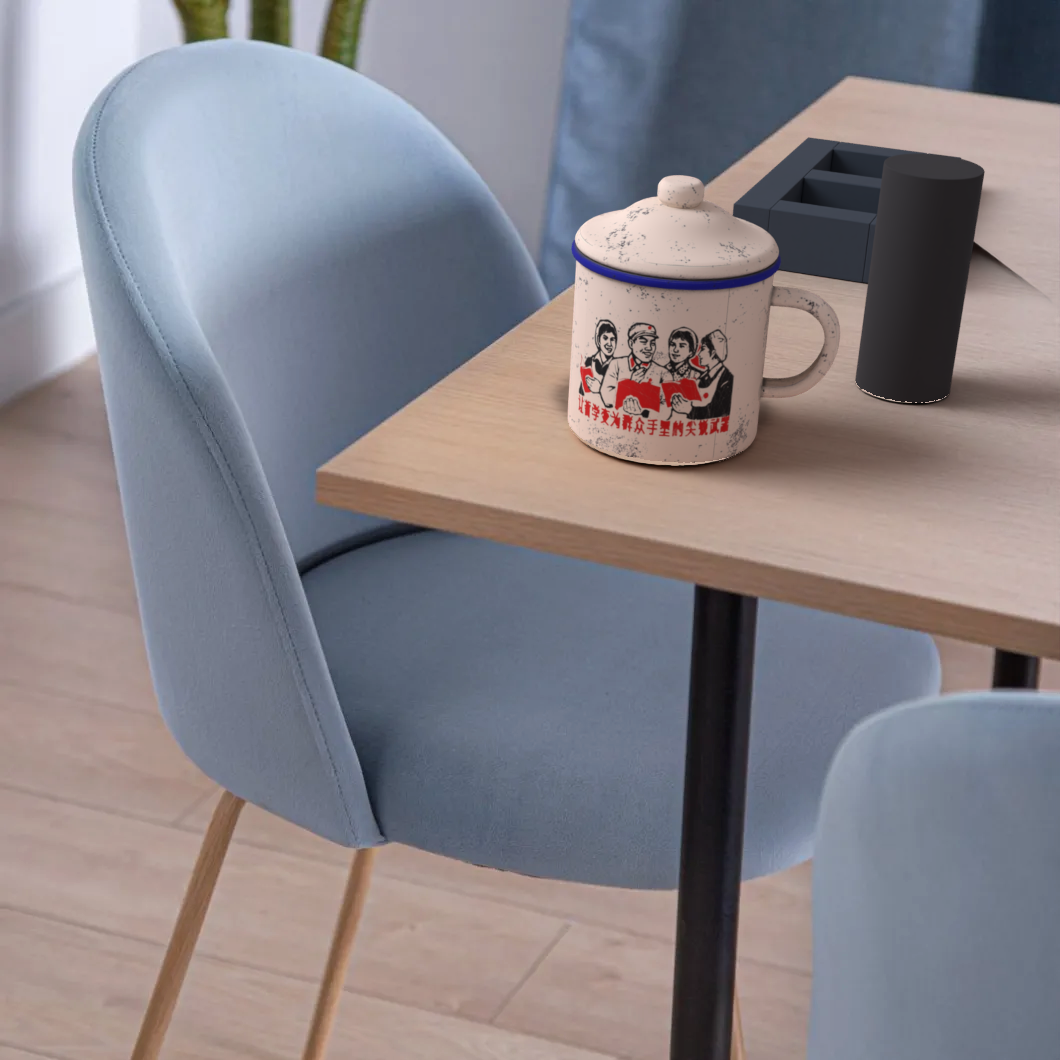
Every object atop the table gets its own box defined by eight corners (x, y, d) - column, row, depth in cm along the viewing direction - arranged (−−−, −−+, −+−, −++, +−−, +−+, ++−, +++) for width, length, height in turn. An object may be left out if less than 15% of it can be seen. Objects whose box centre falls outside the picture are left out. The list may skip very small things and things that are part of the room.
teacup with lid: (543, 457, 77) (556, 197, 72) (581, 384, 85) (595, 145, 80) (819, 492, 75) (852, 226, 70) (831, 413, 83) (862, 170, 78)
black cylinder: (928, 368, 89) (961, 153, 84) (964, 403, 85) (1000, 179, 80) (842, 370, 88) (869, 153, 83) (874, 405, 84) (905, 179, 79)
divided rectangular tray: (953, 210, 116) (961, 157, 114) (900, 288, 100) (908, 229, 99) (802, 188, 119) (807, 137, 117) (727, 261, 104) (733, 203, 102)
